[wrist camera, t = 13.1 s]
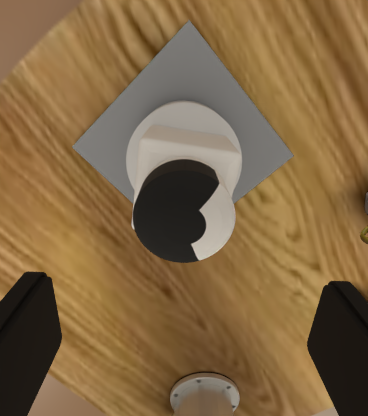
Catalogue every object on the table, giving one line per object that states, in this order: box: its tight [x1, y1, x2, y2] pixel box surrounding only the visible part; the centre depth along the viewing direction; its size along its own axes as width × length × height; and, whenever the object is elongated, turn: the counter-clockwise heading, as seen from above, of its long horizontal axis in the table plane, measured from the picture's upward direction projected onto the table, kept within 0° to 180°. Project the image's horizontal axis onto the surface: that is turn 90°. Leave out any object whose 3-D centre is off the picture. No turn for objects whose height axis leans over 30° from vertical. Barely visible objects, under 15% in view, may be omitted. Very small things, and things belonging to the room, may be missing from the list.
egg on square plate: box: [72, 20, 294, 204], centre depth 30 cm, size 18×18×8 cm
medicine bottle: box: [132, 125, 241, 263], centre depth 21 cm, size 7×7×12 cm
